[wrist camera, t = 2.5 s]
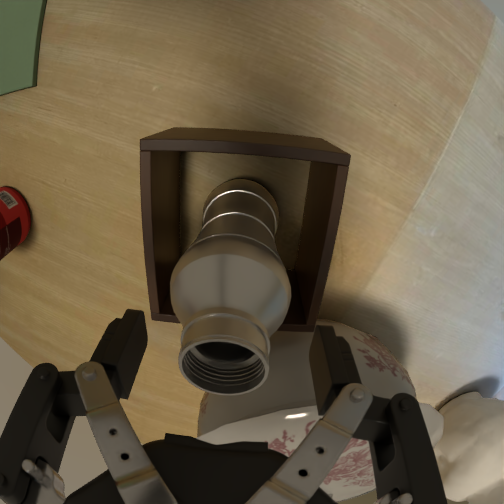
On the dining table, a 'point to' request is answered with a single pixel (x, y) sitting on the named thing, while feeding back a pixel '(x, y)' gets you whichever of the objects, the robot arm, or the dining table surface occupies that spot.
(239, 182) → the plastic bottle
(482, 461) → the vase
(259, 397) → the chamber pot
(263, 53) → the dining table surface
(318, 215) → the crate
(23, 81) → the mat
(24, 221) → the canned food
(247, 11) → the dining table surface
